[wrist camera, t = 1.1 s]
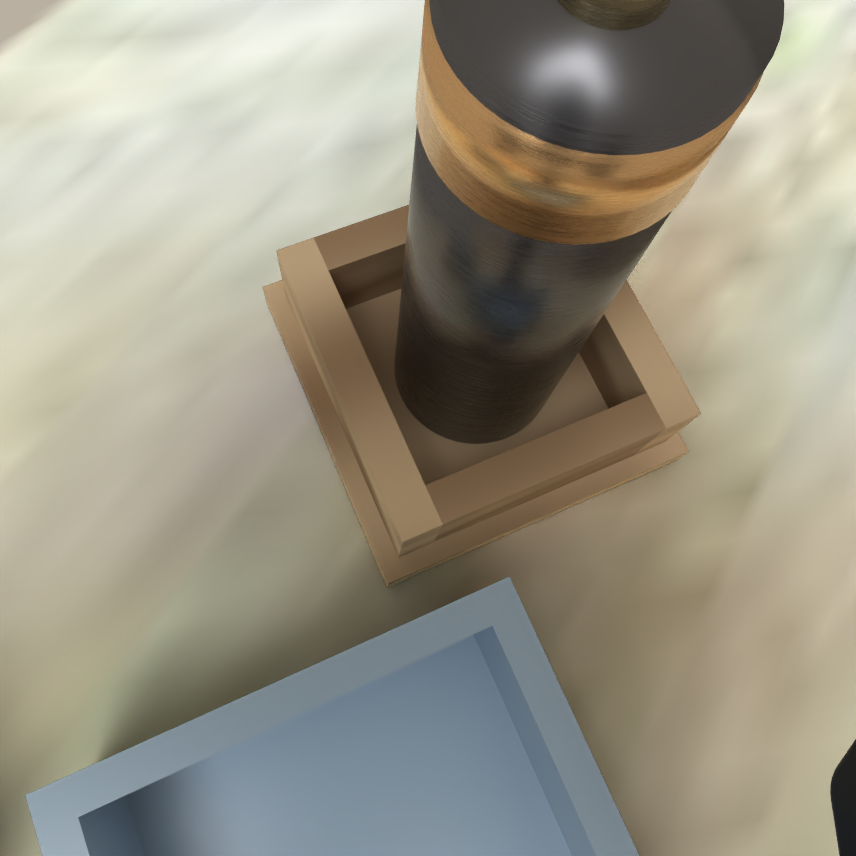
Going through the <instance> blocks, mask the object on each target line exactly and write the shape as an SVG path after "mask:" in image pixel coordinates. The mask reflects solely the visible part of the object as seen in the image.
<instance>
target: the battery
mask: <svg viewBox="0 0 856 856" xmlns="http://www.w3.org/2000/svg"><path fill="white" fill-rule="evenodd" d="M783 20H784V0H425V5H424V16H423V28H422V39H421V50H420V61H419V72H418V84H417V95H416V118H417V130H416V140H415V151H414V161H413V172H412V182H411V193H410V203H409V214H408V224H407V235H406V245H405V256H404V267H403V277H402V288H401V298H400V309H399V319H398V330H397V340H396V351H395V364H394V371H395V379H396V384H397V388H398V391H399V393H400V396H401V398H402V400H403V402H404V403H405V405H406V407H407V408H408V410H409V411H410V412H411V414H412V415H413V416H414V417H415V418H416V419H417V420H418V421H419V422H420V423H421V424H423V425H424V426H425V427H426V428H428V429H429V430H431V431H432V432H434V433H436V434H438V435H440V436H442V437H444V438H446V439H450V440H453V441H456V442H461V443H468V444H484V443H491V442H496V441H500V440H503V439H506V438H508V437H510V436H512V435H514V434H516V433H518V432H519V431H521V430H522V429H524V428H525V427H526V426H527V425H528V424H529V423H530V422H532V421H533V419H534V418H535V417H536V416H537V415H538V413H539V412H540V410H541V409H542V407H543V406H544V404H545V403H546V401H547V400H548V398H549V397H550V395H551V394H552V392H553V390H554V389H555V387H556V386H557V384H558V383H559V381H560V380H561V378H562V377H563V375H564V374H565V372H566V371H567V369H568V368H569V366H570V365H571V363H572V362H573V360H574V359H575V357H576V356H577V354H578V352H579V351H580V349H581V348H582V346H583V345H584V343H585V342H586V340H587V339H588V337H589V336H590V334H591V333H592V331H593V330H594V328H595V327H596V325H597V324H598V322H599V321H600V319H601V318H602V316H603V315H604V313H605V311H606V310H607V308H608V307H609V305H610V304H611V302H612V301H613V299H614V298H615V296H616V295H617V293H618V292H619V290H620V289H621V287H622V286H623V284H624V283H625V281H626V280H627V278H628V277H629V275H630V274H631V272H632V270H633V269H634V267H635V266H636V264H637V263H638V261H639V260H640V258H641V257H642V255H643V254H644V252H645V251H646V249H647V248H648V246H649V245H650V243H651V242H652V240H653V239H654V237H655V236H656V234H657V232H658V231H659V229H660V228H661V226H662V225H663V223H664V222H665V220H666V219H667V217H668V216H669V214H670V213H671V211H672V210H673V209H674V208H675V207H676V206H677V205H678V204H679V203H680V202H681V200H682V199H683V198H684V197H685V196H686V195H687V193H688V192H689V190H690V189H691V187H692V186H693V184H694V183H695V181H696V180H697V178H698V177H699V175H700V174H701V172H702V171H703V169H704V168H705V166H706V165H707V163H708V162H709V160H710V159H711V157H712V156H713V154H714V153H715V151H716V150H717V148H718V147H719V145H720V144H721V142H722V141H723V139H724V138H725V136H726V135H727V133H728V132H729V130H730V129H731V127H732V126H733V124H734V123H735V121H736V120H737V118H738V117H739V115H740V114H741V112H742V111H743V109H744V108H745V106H746V105H747V103H748V101H749V100H750V98H751V97H752V95H753V93H754V92H755V90H756V88H757V87H758V84H759V82H760V79H761V77H762V74H763V72H764V70H765V68H766V67H767V65H768V63H769V62H770V60H771V58H772V57H773V55H774V52H775V50H776V47H777V45H778V42H779V40H780V35H781V31H782V26H783Z"/></svg>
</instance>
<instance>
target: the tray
mask: <svg viewBox="0 0 856 856" xmlns="http://www.w3.org/2000/svg"><path fill="white" fill-rule="evenodd" d="M25 796H26V800H27V803H28V807H29V810H30V814H31V817H32V821H33V825H34V828H35V832H36V835H37V839H38V842H39V846H40V849H41V853H42V856H639V854H638V852H637V849H636V847H635V845H634V843H633V841H632V839H631V836H630V834H629V832H628V830H627V828H626V826H625V824H624V821H623V819H622V817H621V815H620V813H619V811H618V809H617V806H616V804H615V802H614V800H613V798H612V796H611V793H610V791H609V789H608V787H607V785H606V783H605V781H604V778H603V776H602V774H601V772H600V770H599V768H598V765H597V763H596V761H595V759H594V757H593V755H592V753H591V750H590V748H589V746H588V744H587V742H586V740H585V738H584V735H583V733H582V731H581V729H580V727H579V725H578V722H577V720H576V718H575V716H574V714H573V712H572V710H571V707H570V705H569V703H568V701H567V699H566V697H565V695H564V692H563V690H562V688H561V686H560V684H559V682H558V679H557V677H556V675H555V673H554V671H553V669H552V667H551V664H550V662H549V660H548V658H547V656H546V654H545V652H544V649H543V647H542V645H541V643H540V641H539V639H538V636H537V634H536V632H535V630H534V628H533V626H532V624H531V621H530V619H529V617H528V615H527V613H526V611H525V608H524V606H523V604H522V602H521V600H520V598H519V596H518V593H517V591H516V589H515V587H514V585H513V583H512V581H511V578H510V576H509V577H507V578H505V579H503V580H501V581H498V582H496V583H494V584H492V585H489V586H487V587H485V588H483V589H481V590H478V591H476V592H474V593H472V594H470V595H467V596H465V597H463V598H461V599H458V600H456V601H454V602H452V603H450V604H447V605H445V606H443V607H441V608H439V609H436V610H434V611H432V612H430V613H427V614H425V615H423V616H421V617H419V618H416V619H414V620H412V621H410V622H407V623H405V624H403V625H401V626H399V627H396V628H394V629H392V630H390V631H388V632H385V633H383V634H381V635H379V636H376V637H374V638H372V639H370V640H368V641H365V642H363V643H361V644H359V645H357V646H354V647H352V648H350V649H348V650H345V651H343V652H341V653H339V654H337V655H334V656H332V657H330V658H328V659H326V660H323V661H321V662H319V663H317V664H314V665H312V666H310V667H308V668H306V669H303V670H301V671H299V672H297V673H295V674H292V675H290V676H288V677H286V678H283V679H281V680H279V681H277V682H275V683H272V684H270V685H268V686H266V687H264V688H261V689H259V690H257V691H255V692H252V693H250V694H248V695H246V696H244V697H241V698H239V699H237V700H235V701H232V702H230V703H228V704H226V705H224V706H221V707H219V708H217V709H215V710H213V711H210V712H208V713H206V714H204V715H201V716H199V717H197V718H195V719H193V720H190V721H188V722H186V723H184V724H182V725H179V726H177V727H175V728H173V729H170V730H168V731H166V732H164V733H162V734H159V735H157V736H155V737H153V738H151V739H148V740H146V741H144V742H142V743H139V744H137V745H135V746H133V747H131V748H128V749H126V750H124V751H122V752H120V753H117V754H115V755H113V756H111V757H108V758H106V759H104V760H102V761H100V762H97V763H95V764H93V765H91V766H89V767H86V768H84V769H82V770H80V771H77V772H75V773H73V774H71V775H69V776H66V777H64V778H62V779H60V780H57V781H55V782H53V783H51V784H49V785H46V786H44V787H42V788H40V789H38V790H35V791H33V792H31V793H29V794H26V795H25Z"/></svg>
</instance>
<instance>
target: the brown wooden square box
mask: <svg viewBox="0 0 856 856" xmlns="http://www.w3.org/2000/svg"><path fill="white" fill-rule="evenodd" d="M408 214H409V205H407V206H404V207H401V208H399V209H396V210H393V211H390V212H387V213H384V214H381V215H378V216H375V217H372V218H369V219H367V220H364V221H361V222H358V223H355V224H352V225H349V226H346V227H343V228H340V229H337V230H335V231H332V232H329V233H326V234H323V235H320V236H317V237H314V238H311V239H308V240H305V241H303V242H300V243H297V244H294V245H291V246H288V247H285V248H282V249H279V250H276V251H277V256H278V261H279V266H280V271H281V276H282V280H281V281H278V282H275V283H272V284H269V285H267V286H264V287H263V291H264V294H265V298H266V302H267V305H268V307H269V309H270V312H271V314H272V317H273V319H274V321H275V324H276V326H277V328H278V331H279V333H280V336H281V338H282V340H283V343H284V345H285V347H286V350H287V352H288V354H289V357H290V359H291V362H292V364H293V366H294V369H295V371H296V373H297V376H298V378H299V380H300V383H301V385H302V388H303V390H304V392H305V395H306V397H307V399H308V402H309V404H310V406H311V409H312V411H313V414H314V416H315V418H316V421H317V423H318V425H319V428H320V430H321V432H322V435H323V437H324V440H325V442H326V444H327V447H328V449H329V451H330V454H331V456H332V459H333V461H334V463H335V466H336V468H337V470H338V473H339V475H340V477H341V480H342V482H343V485H344V487H345V489H346V492H347V494H348V496H349V499H350V501H351V503H352V506H353V508H354V511H355V513H356V515H357V518H358V520H359V522H360V525H361V527H362V529H363V532H364V534H365V537H366V539H367V541H368V544H369V546H370V548H371V551H372V553H373V555H374V558H375V560H376V563H377V565H378V567H379V570H380V572H381V574H382V577H383V579H384V582H385V584H386V586H387V587H390V586H392V585H394V584H396V583H399V582H401V581H403V580H406V579H408V578H410V577H412V576H415V575H417V574H419V573H421V572H424V571H426V570H428V569H431V568H433V567H435V566H437V565H440V564H442V563H444V562H446V561H449V560H451V559H453V558H456V557H458V556H460V555H462V554H465V553H467V552H469V551H471V550H474V549H476V548H478V547H480V546H483V545H485V544H487V543H490V542H492V541H494V540H496V539H499V538H501V537H503V536H505V535H508V534H510V533H512V532H515V531H517V530H519V529H521V528H524V527H526V526H528V525H530V524H533V523H535V522H537V521H540V520H542V519H544V518H546V517H549V516H551V515H553V514H555V513H558V512H560V511H562V510H565V509H567V508H569V507H571V506H574V505H576V504H578V503H580V502H583V501H585V500H587V499H590V498H592V497H594V496H596V495H599V494H601V493H603V492H605V491H608V490H610V489H612V488H615V487H617V486H619V485H621V484H624V483H626V482H628V481H630V480H633V479H635V478H637V477H640V476H642V475H644V474H646V473H649V472H651V471H653V470H655V469H658V468H660V467H662V466H665V465H667V464H669V463H671V462H674V461H676V460H677V459H679V458H680V457H681V456H683V455H684V454H686V453H687V452H689V451H688V449H687V447H686V445H685V444H684V442H683V440H682V438H681V436H680V434H679V433H678V431H679V430H681V429H682V428H683V427H684V426H686V425H687V424H688V423H689V422H691V421H692V420H693V419H695V418H696V417H697V416H698V415H700V414H701V412H700V411H699V409H698V407H697V405H696V404H695V402H694V400H693V398H692V396H691V395H690V393H689V391H688V389H687V387H686V386H685V384H684V382H683V380H682V378H681V377H680V375H679V373H678V371H677V370H676V368H675V366H674V364H673V362H672V361H671V359H670V357H669V355H668V353H667V352H666V350H665V348H664V346H663V344H662V343H661V341H660V339H659V337H658V335H657V334H656V332H655V330H654V328H653V327H652V325H651V323H650V321H649V319H648V318H647V316H646V314H645V312H644V310H643V309H642V307H641V305H640V303H639V301H638V300H637V298H636V296H635V294H634V293H633V291H632V289H631V287H630V285H629V284H628V282H627V280H626V281H625V283H624V284H623V286H622V287H621V289H620V290H619V292H618V293H617V295H616V296H615V298H614V299H613V301H612V302H611V304H610V305H609V307H608V308H607V310H606V311H605V313H604V315H603V316H602V318H601V319H600V321H599V322H598V324H597V325H596V327H595V328H594V330H593V331H592V333H591V334H590V336H589V337H588V339H587V340H586V342H585V343H584V345H583V346H582V348H581V349H580V351H579V352H578V354H577V356H576V357H575V359H574V360H573V362H572V363H571V365H570V366H569V368H568V369H567V371H566V372H565V374H564V375H563V377H562V378H561V380H560V381H559V383H558V384H557V386H556V387H555V389H554V390H553V392H552V394H551V395H550V397H549V398H548V400H547V401H546V403H545V404H544V406H543V407H542V409H541V410H540V412H539V413H538V415H537V416H536V417H535V418H534V419H533V421H532V422H530V423H529V424H528V425H527V426H526V427H525V428H524V429H522V430H521V431H519V432H518V433H516V434H514V435H512V436H510V437H508V438H506V439H503V440H500V441H496V442H491V443H484V444H468V443H461V442H456V441H453V440H450V439H446V438H444V437H442V436H440V435H438V434H436V433H434V432H432V431H431V430H429V429H428V428H426V427H425V426H424V425H423V424H421V423H420V422H419V421H418V420H417V419H416V418H415V417H414V416H413V415H412V414H411V412H410V411H409V410H408V408H407V407H406V405H405V403H404V402H403V400H402V398H401V396H400V393H399V391H398V388H397V384H396V379H395V371H394V364H395V351H396V340H397V330H398V319H399V309H400V298H401V288H402V277H403V267H404V256H405V245H406V235H407V224H408Z"/></svg>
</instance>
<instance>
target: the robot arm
mask: <svg viewBox="0 0 856 856" xmlns="http://www.w3.org/2000/svg"><path fill="white" fill-rule="evenodd" d="M831 802H832V809H833V815H834V822H835V828H836V835H837V841H838V848H839V854H840V856H856V740H855V741H854V742H853V744H852V745H851V747H850V748H849V750H848V751H847V753H846V754H845V756H844V757H843V759H842V760H841V762H840V763H839V764H838V766H837V767H836V769H835V771H834V774H833V777H832V781H831Z"/></svg>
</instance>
